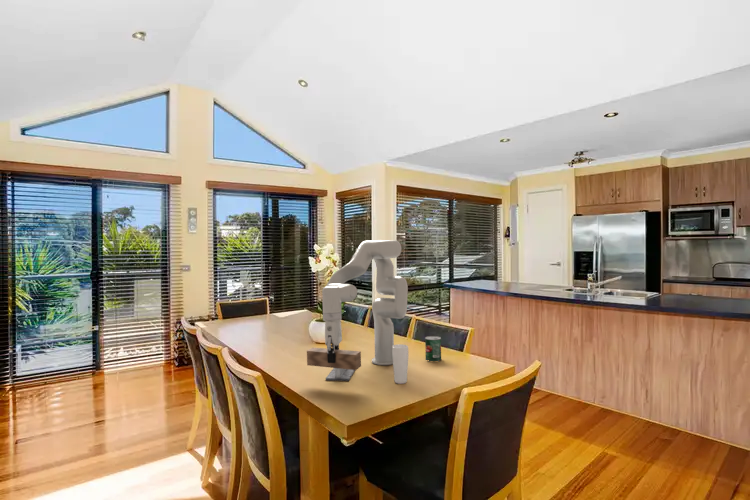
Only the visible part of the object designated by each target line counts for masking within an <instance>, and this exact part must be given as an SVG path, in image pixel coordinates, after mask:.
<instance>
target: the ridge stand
mask: <svg viewBox="0 0 750 500" xmlns="http://www.w3.org/2000/svg"><path fill="white" fill-rule="evenodd" d="M355 372H356V370H350V369H340V368H332V369H331V371H330V372H329V374H327V376H326V377H325V381H330V382H331V381H333V382H334V381H335V382H339V381H340V382H349V381H350V380H351V378H352V376H353V375H354V373H355Z"/></svg>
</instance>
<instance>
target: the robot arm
mask: <svg viewBox="0 0 750 500" xmlns="http://www.w3.org/2000/svg"><path fill="white" fill-rule="evenodd" d="M401 253H402V244H401V243H400V242H399V241H398V240H397V239H389V240H388V239H386V240H385V239H377V240H376V239H375V240H369V239H368V240H363V241H362V242H361V243H360V244H359V245H358V247H357V249H356V250H355V252H354V254H353V255H352V256H351V258H350V261H349V262H348V263H347V264H345V265H343V266H342V267H340V268H339V269H338V270H336V271H335V272H334V273H333V274H332V275H331V277H330V278H329V280H328V281H327V283H326V286H324V287H322V289H321V290H322V291H321V292H322V293H321V294H322V296H321V297H322V321H323V322H325V323H324V339H325V340H324V343H325V346H326V349H327V358H328V363H335V362H336V355H335V349H337V350H340V344H341V342H342V340H343V334H342V331H343V330H342V322H341V321H342V320H343V319H342V303H344V302H345V303H348V302H352V301H354V300H355V299H356V298H357V295H358V289H357V287H356V286H355V285H353V284H351V283H346V282H348V281H350V280H352V279H356V278H358V277H361V276H363V275H365V273H367V270H368V268H369V266H370V265H371V263H372V260H373V261H374V262H375V265H376V279H375V280H376V283H375V288H376V292H377V294H379V295H382V296H394V298H391V297H378V298H375V299H374V300H373V301H372V305H371V311H372V315H373V322H374V323H373V324H374V325H373V326H374V327H373V328H374V329H373V330H374V357H373V358H372V359H371V363H372V364H374V365H377V366H393V358H392V346H393V345H395V341H394V340H395V338H394V335H395V333H394V332H395V331H394V330H395V328H394V322H393V320H392V319H398V320H400V319H404V317H406V314H407V310H408V296H409V295H408V294H409V293H408V292H409V291H408V289H409V287H408V282H407V280H406V278H405V277H403V276H400V275H398V276H397V275H394V271H395V269H394V267H395V266H394V263H393V260H391V259H396V258H398V257H399V256H400V255H401Z"/></svg>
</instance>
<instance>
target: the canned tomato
mask: <svg viewBox="0 0 750 500" xmlns="http://www.w3.org/2000/svg"><path fill="white" fill-rule="evenodd" d="M424 341H425V346H424V347H425V349H424V350H425V352H424V353H425V361H426V360H429V361H428V362H430V361H438V362H440V361H439V360H441V361H442V338H441V336H437V335H429V336H425V337H424Z"/></svg>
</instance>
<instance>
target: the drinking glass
mask: <svg viewBox="0 0 750 500" xmlns="http://www.w3.org/2000/svg"><path fill="white" fill-rule="evenodd" d="M392 358H393V364H392V368H393V379H394V380H393V381H394V383H396V384H399V385H400V384H401V385H403V384H406V383H407V382H408V368H409V345H407V344H401V343H400V344H399V343H398V344H394V345H393V346H392Z"/></svg>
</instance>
